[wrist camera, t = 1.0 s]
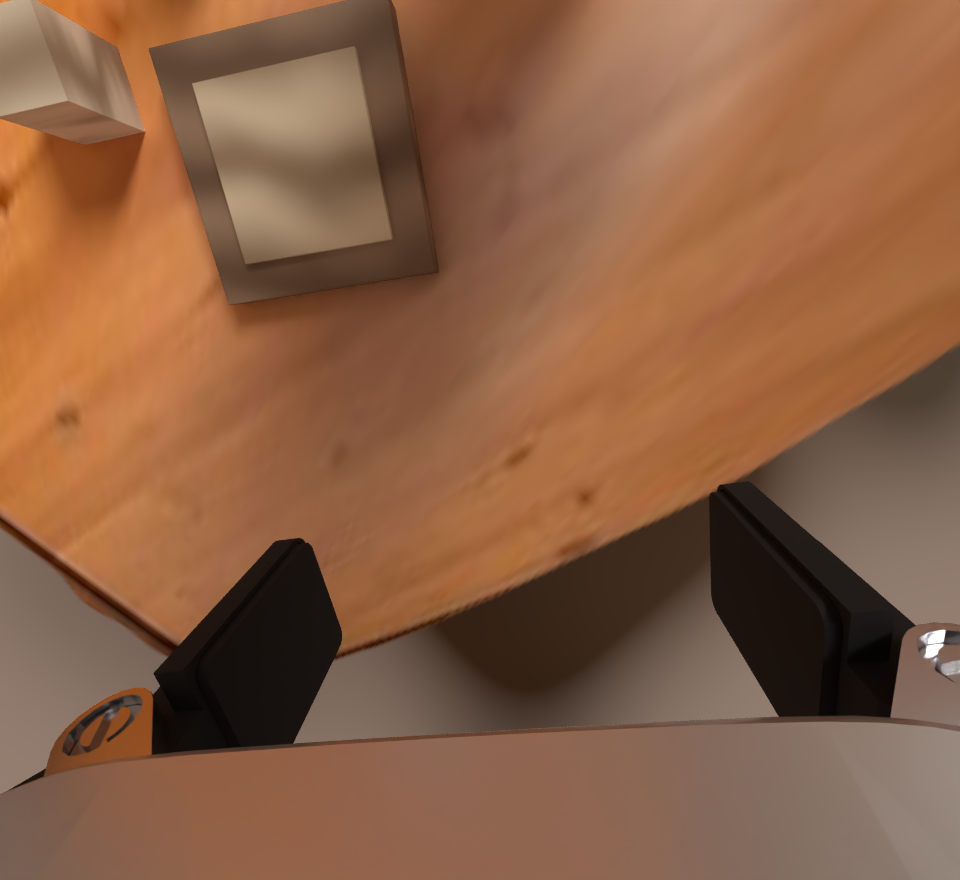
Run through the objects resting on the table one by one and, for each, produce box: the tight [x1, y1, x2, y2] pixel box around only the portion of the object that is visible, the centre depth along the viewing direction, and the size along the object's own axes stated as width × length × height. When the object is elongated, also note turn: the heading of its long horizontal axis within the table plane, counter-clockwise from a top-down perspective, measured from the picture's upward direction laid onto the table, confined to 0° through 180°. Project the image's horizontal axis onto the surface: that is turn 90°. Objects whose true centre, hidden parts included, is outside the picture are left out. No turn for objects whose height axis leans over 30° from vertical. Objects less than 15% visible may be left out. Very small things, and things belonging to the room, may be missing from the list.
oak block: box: [0, 0, 145, 145], centre depth 29 cm, size 5×5×6 cm
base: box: [149, 0, 439, 305], centre depth 31 cm, size 16×16×2 cm
